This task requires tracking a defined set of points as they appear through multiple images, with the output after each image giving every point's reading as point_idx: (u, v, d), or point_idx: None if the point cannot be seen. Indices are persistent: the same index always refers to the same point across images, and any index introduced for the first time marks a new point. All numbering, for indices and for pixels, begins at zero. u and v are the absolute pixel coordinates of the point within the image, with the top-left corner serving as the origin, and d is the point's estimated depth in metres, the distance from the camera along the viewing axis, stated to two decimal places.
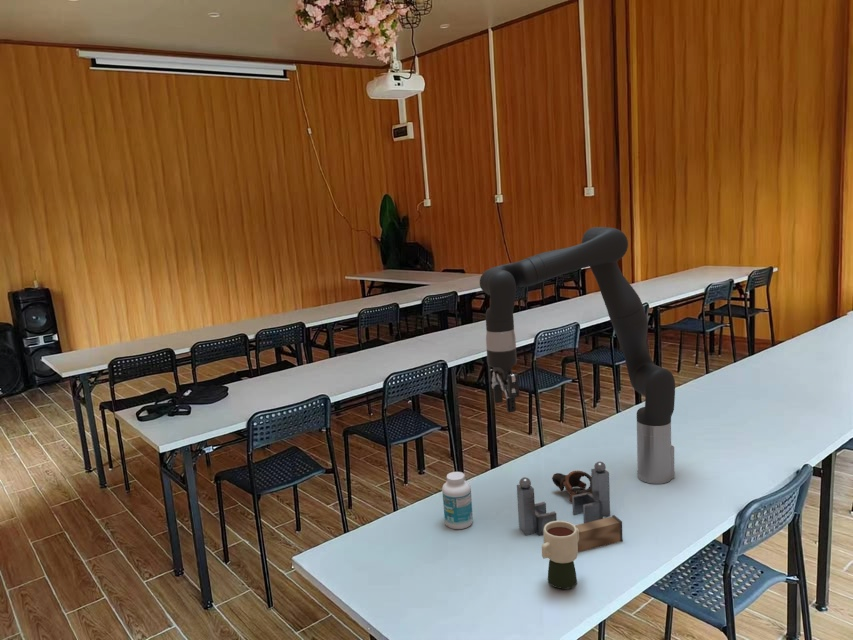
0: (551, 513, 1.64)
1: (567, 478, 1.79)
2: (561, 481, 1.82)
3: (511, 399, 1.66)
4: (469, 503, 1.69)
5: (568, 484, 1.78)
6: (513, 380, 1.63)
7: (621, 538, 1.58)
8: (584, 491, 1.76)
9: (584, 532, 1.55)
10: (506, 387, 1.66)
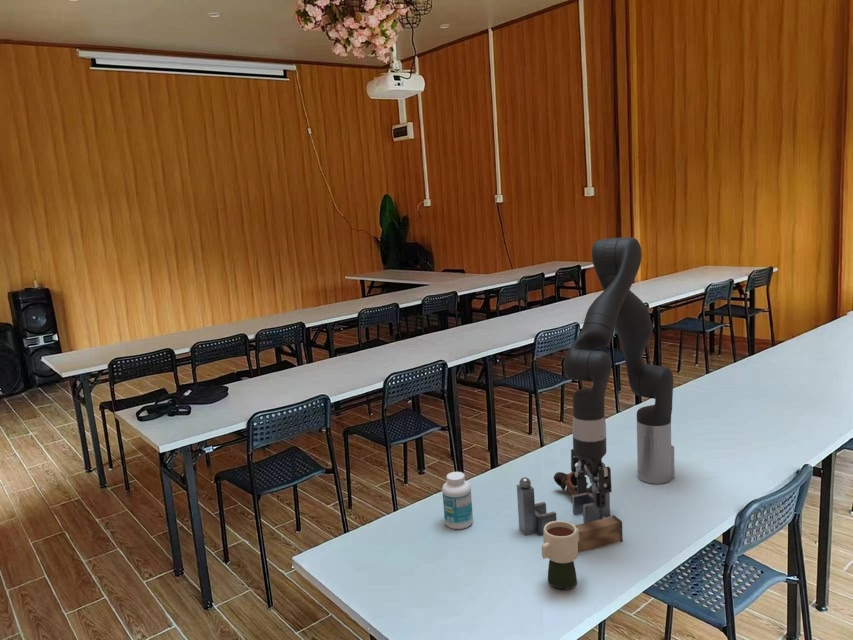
0: (551, 513, 1.64)
1: (569, 477, 1.80)
2: (563, 480, 1.82)
3: (601, 494, 1.50)
4: (469, 503, 1.69)
5: (570, 483, 1.79)
6: (605, 474, 1.47)
7: (621, 538, 1.58)
8: None
9: (584, 532, 1.55)
10: (596, 480, 1.50)
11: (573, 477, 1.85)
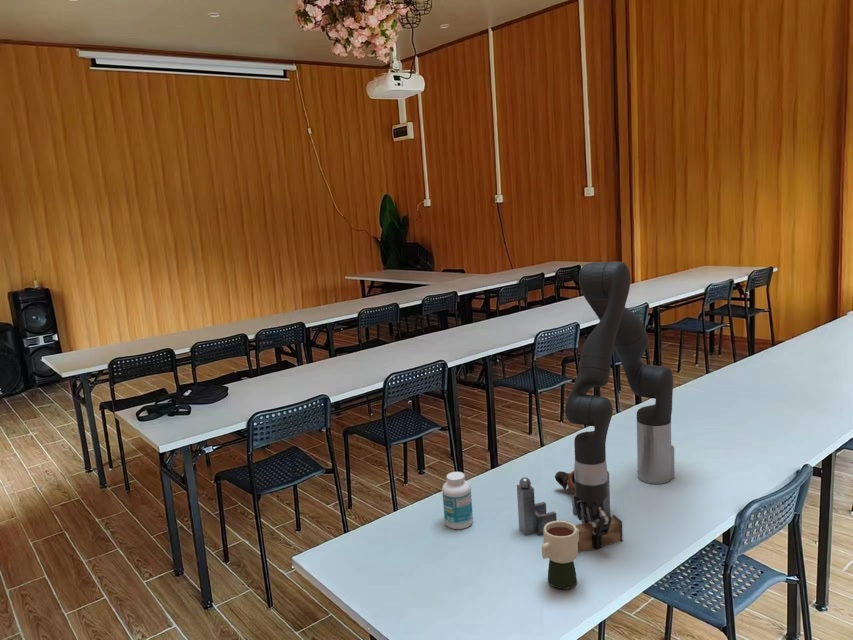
0: (551, 513, 1.64)
1: (570, 476, 1.80)
2: (564, 479, 1.82)
3: (598, 536, 1.54)
4: (469, 503, 1.69)
5: (571, 482, 1.79)
6: (605, 523, 1.50)
7: (621, 538, 1.58)
8: None
9: (584, 532, 1.55)
10: (594, 524, 1.54)
11: (574, 476, 1.86)
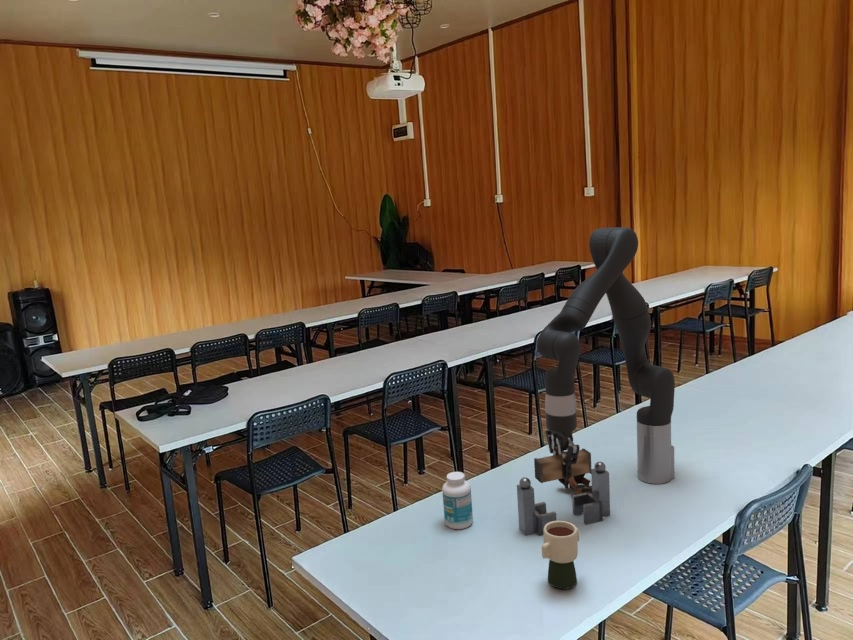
0: (551, 513, 1.64)
1: None
2: (566, 478, 1.83)
3: (567, 465, 1.63)
4: (469, 503, 1.69)
5: (573, 481, 1.80)
6: (574, 452, 1.59)
7: (590, 469, 1.66)
8: (589, 488, 1.78)
9: (555, 462, 1.63)
10: (564, 454, 1.62)
11: (576, 475, 1.86)
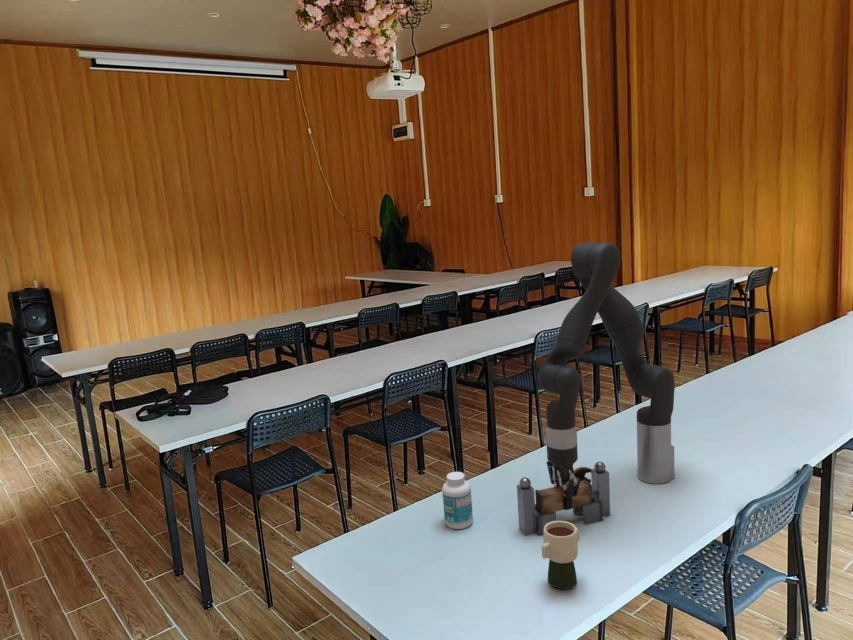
0: (551, 513, 1.64)
1: None
2: None
3: (568, 497, 1.64)
4: (469, 503, 1.69)
5: None
6: (575, 484, 1.60)
7: (590, 500, 1.68)
8: None
9: (555, 494, 1.65)
10: (565, 486, 1.64)
11: (576, 474, 1.87)
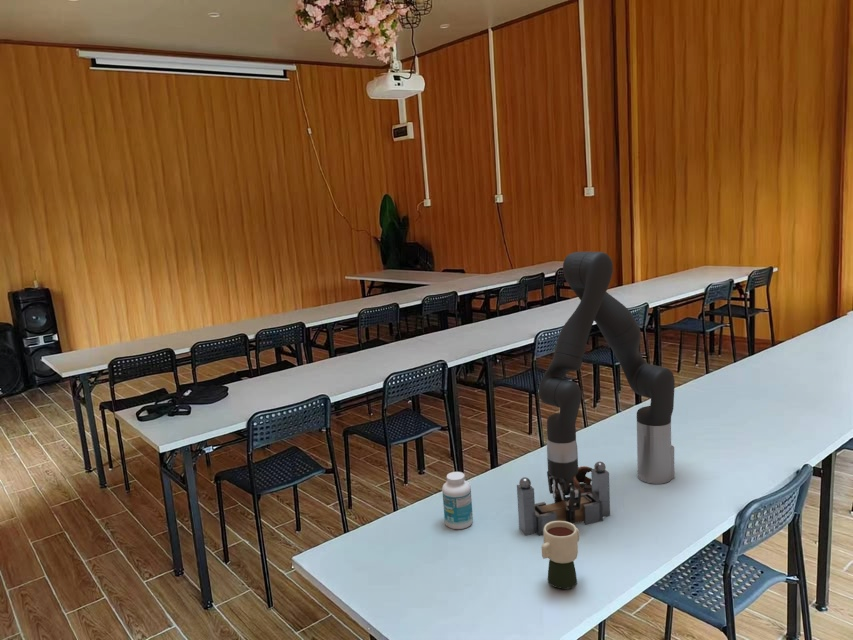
0: (551, 513, 1.64)
1: None
2: None
3: (571, 511, 1.64)
4: (469, 503, 1.69)
5: (575, 480, 1.80)
6: (576, 496, 1.61)
7: None
8: (591, 486, 1.79)
9: (556, 511, 1.66)
10: (567, 499, 1.64)
11: (577, 474, 1.87)
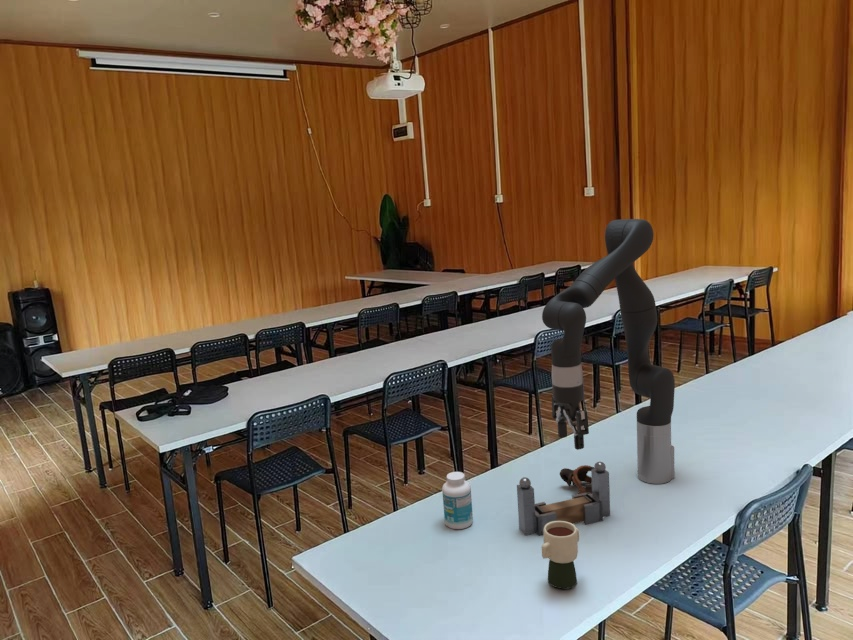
0: (551, 513, 1.64)
1: (575, 473, 1.82)
2: (569, 476, 1.84)
3: (580, 436, 1.59)
4: (469, 503, 1.69)
5: (577, 479, 1.81)
6: (582, 417, 1.57)
7: None
8: None
9: (556, 511, 1.66)
10: (574, 424, 1.60)
11: (578, 473, 1.88)
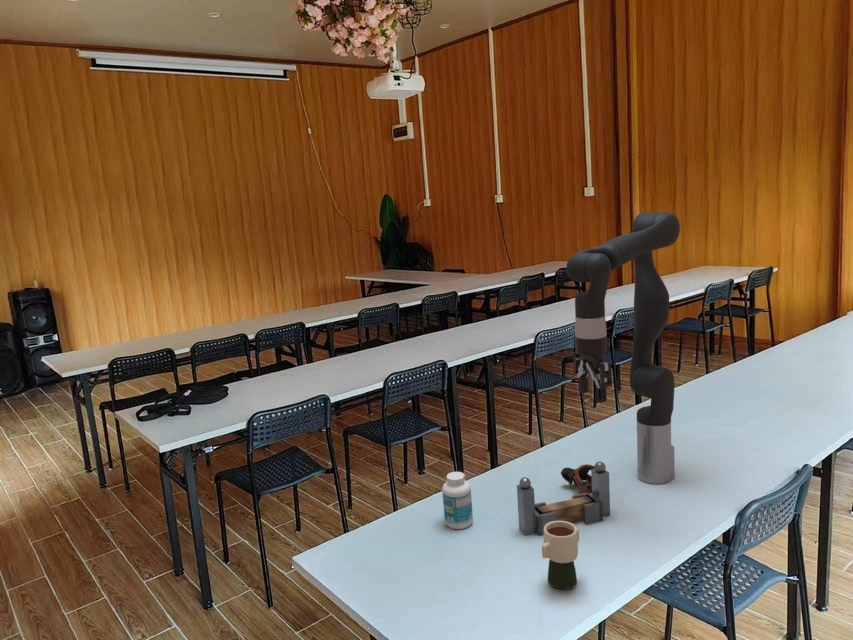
0: (551, 513, 1.64)
1: (577, 472, 1.83)
2: (570, 475, 1.85)
3: (602, 389, 1.59)
4: (469, 503, 1.69)
5: (578, 478, 1.81)
6: (606, 369, 1.57)
7: None
8: None
9: (556, 511, 1.66)
10: (597, 376, 1.60)
11: (580, 472, 1.88)
